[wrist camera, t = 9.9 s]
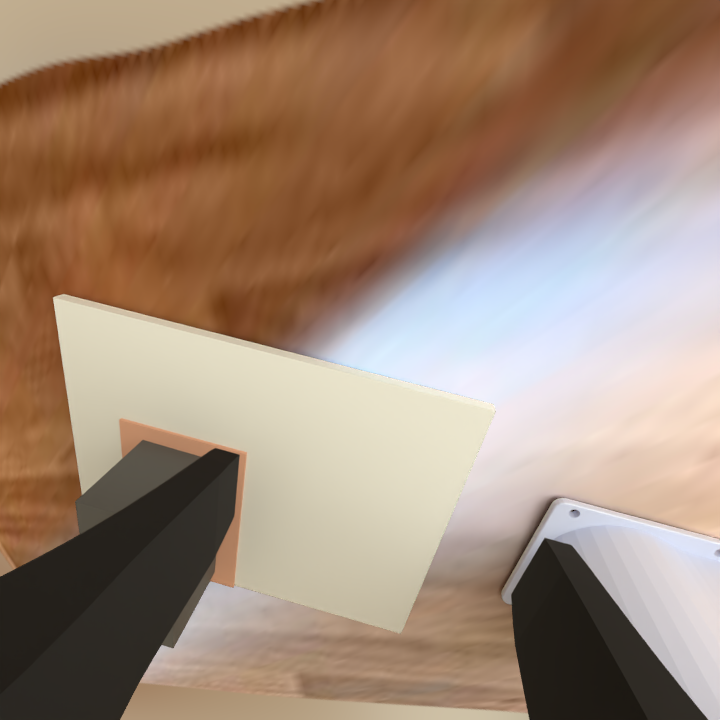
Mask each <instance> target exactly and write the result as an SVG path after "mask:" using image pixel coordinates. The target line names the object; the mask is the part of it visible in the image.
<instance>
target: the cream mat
mask: <svg viewBox="0 0 720 720" xmlns="http://www.w3.org/2000/svg"><path fill="white" fill-rule="evenodd" d="M53 300H54V307H55V314H56V321H57V328H58V335H59V341H60V348H61V355H62V362H63V369H64V376H65V382H66V389H67V396H68V403H69V410H70V416H71V423H72V430H73V437H74V444H75V451H76V457H77V464H78V471H79V478H80V485H81V492H82V495H83V494H84V493H85V492H86V491H87V490H88V489H89V488H91V487H92V486H93V485H94V484H95V483H96V482H97V481H98V480H99V479H100V478H101V477H103V476H104V475H105V474H106V473H107V472H108V471H109V470H110V469H111V468H112V467H113V466H115V465H116V464H117V463H118V462H119V461H120V460H121V459H122V458H123V457H124V456H126V455H127V454H128V453H129V452H130V451H131V450H132V449H133V448H134V447H135V446H136V445H138V444H139V443H140V442H141V441H142V440H145V441H149V442H152V443H156V444H159V445H163V446H166V447H169V448H173V449H176V450H180V451H183V452H187V453H190V454H194V455H197V456H201V457H202V456H203V455H205V454H206V453H207V452H209V451H210V450H212V449H214V448H218V449H221V450H225V451H229V452H232V453H236V454H240V458H239V469H238V481H237V492H236V504H235V515H234V518H233V520H232V523H231V525H230V527H229V529H228V531H227V533H226V535H225V538H224V540H223V542H222V544H221V546H220V548H219V550H218V552H217V554H216V563H215V572H214V574H213V576H212V578H211V580H210V581H212V582H216V583H219V584H222V585H226V586H229V587H234V585H235V586H238V587H242V588H245V589H249V590H252V591H255V592H259V593H262V594H266V595H269V596H273V597H276V598H279V599H283V600H286V601H290V602H293V603H297V604H300V605H303V606H307V607H310V608H314V609H317V610H321V611H324V612H328V613H331V614H334V615H338V616H341V617H345V618H348V619H352V620H355V621H358V622H362V623H365V624H369V625H372V626H376V627H379V628H382V629H386V630H389V631H393V632H396V633H400V634H401V633H402V630H403V628H404V626H405V623H406V621H407V619H408V616H409V614H410V612H411V609H412V607H413V605H414V602H415V600H416V598H417V595H418V593H419V591H420V588H421V586H422V583H423V581H424V579H425V576H426V574H427V572H428V569H429V567H430V565H431V562H432V560H433V558H434V555H435V553H436V551H437V548H438V546H439V544H440V541H441V539H442V536H443V534H444V532H445V529H446V527H447V525H448V522H449V520H450V518H451V515H452V513H453V511H454V508H455V506H456V504H457V501H458V499H459V497H460V494H461V492H462V489H463V487H464V485H465V482H466V480H467V478H468V475H469V473H470V471H471V468H472V466H473V464H474V461H475V459H476V457H477V454H478V452H479V450H480V447H481V445H482V442H483V440H484V438H485V435H486V433H487V431H488V428H489V426H490V424H491V421H492V419H493V417H494V414H495V412H496V410H495V407H494V404H491V403H487V402H483V401H479V400H475V399H471V398H467V397H463V396H460V395H456V394H452V393H448V392H444V391H440V390H436V389H432V388H428V387H424V386H421V385H417V384H413V383H409V382H405V381H401V380H397V379H393V378H389V377H385V376H382V375H378V374H374V373H370V372H366V371H362V370H358V369H354V368H350V367H346V366H343V365H339V364H335V363H331V362H327V361H323V360H319V359H315V358H311V357H307V356H304V355H300V354H296V353H292V352H288V351H284V350H280V349H276V348H272V347H268V346H264V345H261V344H257V343H253V342H249V341H245V340H241V339H237V338H233V337H229V336H225V335H222V334H218V333H214V332H210V331H206V330H202V329H198V328H194V327H190V326H186V325H183V324H179V323H175V322H171V321H167V320H163V319H159V318H155V317H151V316H147V315H144V314H140V313H136V312H132V311H128V310H124V309H120V308H116V307H112V306H108V305H105V304H101V303H97V302H93V301H89V300H85V299H81V298H77V297H73V296H69V295H65V294H62V295H59V296H56V297H53Z"/></svg>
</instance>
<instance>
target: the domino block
mask: <svg viewBox="0 0 720 720" xmlns="http://www.w3.org/2000/svg"><path fill="white" fill-rule="evenodd" d="M200 457H201V456H197V455H194V454H190V453H187V452H183V451H180V450H176V449H173V448H169V447H166V446H163V445H159V444H156V443H152V442H149V441H145V440H142V441H141V442H140V443H139V444H138V445H136V446H135V447H134V448H133V449H132V450H131V451H130V452H129V453H128V454H127V455H126V456H124V457H123V458H122V459H121V460H120V461H119V462H118V463H117V464H116V465H115V466H113V467H112V468H111V469H110V470H109V471H108V472H107V473H106V474H105V475H104V476H103V477H101V478H100V479H99V480H98V481H97V482H96V483H95V484H94V485H93V486H92V487H91V488H89V489H88V490H87V491H86V492H85V493H84V494H83V495H82V496H81V497H80V498H79V499H77V500H76V501H75V503H76V510H77V518H78V525H79V532H80V534H81V533H83V532H85V531H86V530H88V529H90V528H91V527H93V526H95V525H97V524H98V523H100V522H102V521H103V520H105V519H107V518H108V517H110V516H112V515H113V514H115V513H117V512H118V511H120V510H122V509H123V508H125V507H127V506H128V505H130V504H131V503H133V502H134V501H136V500H137V499H139V498H141V497H142V496H144V495H145V494H147V493H148V492H150V491H151V490H153V489H154V488H156V487H158V486H159V485H161V484H162V483H164V482H165V481H167V480H168V479H170V478H171V477H173V476H174V475H175V474H177V473H178V472H180V471H181V470H183V469H184V468H186V467H187V466H189V465H190V464H192V463H193V462H194V461H196V460H197V459H199V458H200ZM215 563H216V556H215V558H214V560H213V562H212V563H211V565H210V567H209V568H208V570H207V571H206V573H205V575H204V576H203V578H202V580H201V581H200V583H199V585H198V586H197V588H196V590H195V591H194V593H193V594H192V596H191V598H190V599H189V601H188V603H187V604H186V606H185V607H184V609H183V611H182V612H181V614H180V616H179V617H178V619H177V620H176V622H175V624H174V625H173V627H172V628H171V630H170V632H169V633H168V635H167V637H166V638H165V640H164V641H163V643H162V645H164V646H168V647H171V648H174V646H175V644H176V643H177V641H178V639H179V637H180V635H181V633H182V631H183V630H184V628H185V626H186V624H187V622H188V620H189V619H190V617H191V615H192V613H193V611H194V609H195V607H196V606H197V604H198V602H199V600H200V598H201V596H202V595H203V593H204V591H205V589H206V587H207V585H208V584H209V582H210V580H211V578H212V576H213V574H214V572H215Z"/></svg>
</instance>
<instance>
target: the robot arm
mask: <svg viewBox="0 0 720 720" xmlns="http://www.w3.org/2000/svg"><path fill="white" fill-rule="evenodd" d="M239 458H240V454H236V453H232V452H229V451H225V450H221V449H218V448H214V449H212V450H210V451H209V452H207V453H206V454H205V455H203V456H202V457H200V458H199V459H197V460H196V461H194V462H193V463H192V464H190V465H189V466H187V467H186V468H184V469H183V470H181V471H180V472H178V473H177V474H175V475H174V476H173V477H171V478H170V479H168V480H167V481H165V482H164V483H162V484H161V485H159V486H158V487H156V488H154V489H153V490H151V491H150V492H148V493H147V494H145V495H144V496H142V497H141V498H139V499H137V500H136V501H134V502H133V503H131V504H130V505H128V506H127V507H125V508H123V509H122V510H120V511H118V512H117V513H115V514H113V515H112V516H110V517H108V518H107V519H105V520H103V521H102V522H100V523H98V524H97V525H95V526H93V527H91V528H90V529H88V530H86V531H85V532H83V533H81V534H80V535H78V536H76V537H74V538H73V539H71V540H69V541H67V542H65V543H64V544H62V545H60V546H58V547H56V548H55V549H53V550H51V551H49V552H47V553H45V554H43V555H42V556H40V557H38V558H36V559H34V560H32V561H30V562H28V563H26V564H24V565H22V566H20V567H18V568H16V569H15V570H13V571H11V572H9V573H7V574H5V575H3V576H1V577H0V720H120V718H121V717H122V715H123V713H124V711H125V709H126V707H127V705H128V703H129V701H130V699H131V697H132V695H133V693H134V691H135V689H136V688H137V686H138V684H139V682H140V680H141V679H142V677H143V675H144V673H145V672H146V670H147V668H148V666H149V665H150V663H151V661H152V659H153V658H154V656H155V654H156V653H157V651H158V650H159V648H160V646H161V645H162V643H163V641H164V640H165V638H166V637H167V635H168V633H169V632H170V630H171V628H172V627H173V625H174V624H175V622H176V620H177V619H178V617H179V616H180V614H181V612H182V611H183V609H184V607H185V606H186V604H187V603H188V601H189V599H190V598H191V596H192V594H193V593H194V591H195V590H196V588H197V586H198V585H199V583H200V581H201V580H202V578H203V576H204V575H205V573H206V571H207V570H208V568H209V567H210V565H211V563H212V562H213V560H214V558H215V556H216V554H217V552H218V550H219V548H220V546H221V544H222V542H223V540H224V538H225V535H226V533H227V531H228V529H229V527H230V525H231V523H232V520H233V518H234V515H235V504H236V492H237V481H238V469H239ZM571 510H576V511H573V512H570V511H571ZM501 596H502V600H503V601H504V602H505V603H507V604H510V605H512V615H513V627H514V638H515V647H516V652H517V658H518V663H519V668H520V673H521V679H522V684H523V689H524V694H525V699H526V704H527V709H528V714H529V719H530V720H720V539H717V538H713V537H709V536H706V535H702V534H698V533H694V532H691V531H687V530H683V529H679V528H676V527H672V526H668V525H664V524H661V523H657V522H653V521H649V520H646V519H642V518H638V517H634V516H631V515H627V514H623V513H619V512H616V511H612V510H608V509H604V508H601V507H597V506H593V505H589V504H586V503H582V502H578V501H574V500H571V499H567V498H558V499H556V500H554V501H553V502H552V504H551V505H550V507H549V509H548V511H547V512H546V514H545V516H544V518H543V519H542V521H541V523H540V525H539V526H538V528H537V530H536V532H535V533H534V535H533V537H532V539H531V540H530V542H529V544H528V546H527V547H526V549H525V551H524V553H523V554H522V556H521V558H520V560H519V561H518V563H517V565H516V567H515V568H514V570H513V572H512V574H511V575H510V577H509V579H508V581H507V582H506V584H505V586H504V588H503V589H502V592H501Z"/></svg>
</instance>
